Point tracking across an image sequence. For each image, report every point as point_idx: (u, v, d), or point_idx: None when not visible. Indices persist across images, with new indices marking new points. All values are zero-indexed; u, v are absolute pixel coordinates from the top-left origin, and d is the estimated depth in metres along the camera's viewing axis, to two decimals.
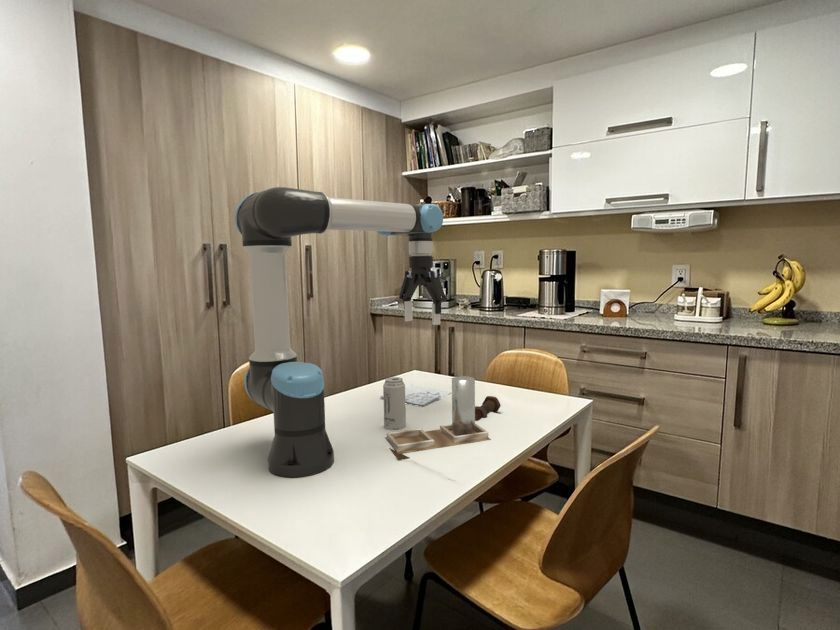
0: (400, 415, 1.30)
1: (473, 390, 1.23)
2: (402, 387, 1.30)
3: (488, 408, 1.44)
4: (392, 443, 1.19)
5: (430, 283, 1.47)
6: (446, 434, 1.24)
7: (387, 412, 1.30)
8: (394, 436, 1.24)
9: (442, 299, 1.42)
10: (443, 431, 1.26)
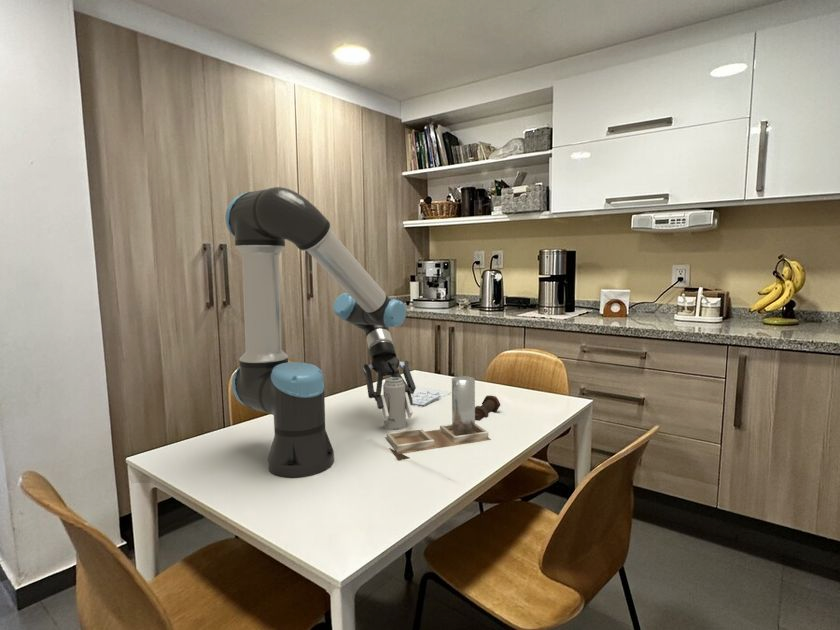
0: (400, 415, 1.30)
1: (473, 390, 1.23)
2: (402, 387, 1.30)
3: (489, 407, 1.44)
4: (392, 443, 1.19)
5: None
6: (446, 434, 1.24)
7: None
8: (394, 436, 1.24)
9: None
10: (443, 431, 1.26)
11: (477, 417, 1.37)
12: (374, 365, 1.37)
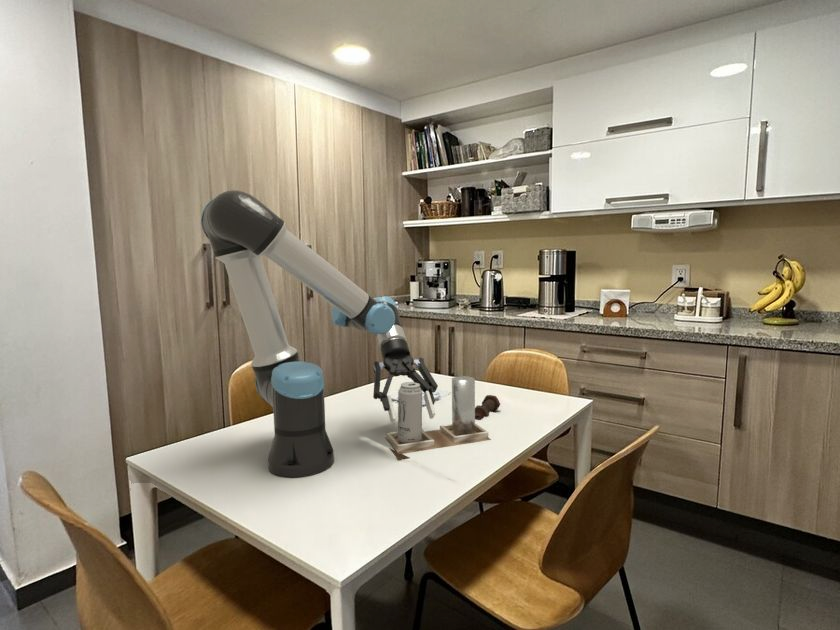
0: (416, 425, 1.18)
1: (473, 390, 1.23)
2: (419, 394, 1.18)
3: (489, 407, 1.45)
4: (392, 443, 1.19)
5: None
6: (446, 434, 1.24)
7: (402, 421, 1.18)
8: (394, 436, 1.24)
9: None
10: (443, 431, 1.26)
11: (478, 416, 1.38)
12: (386, 364, 1.25)
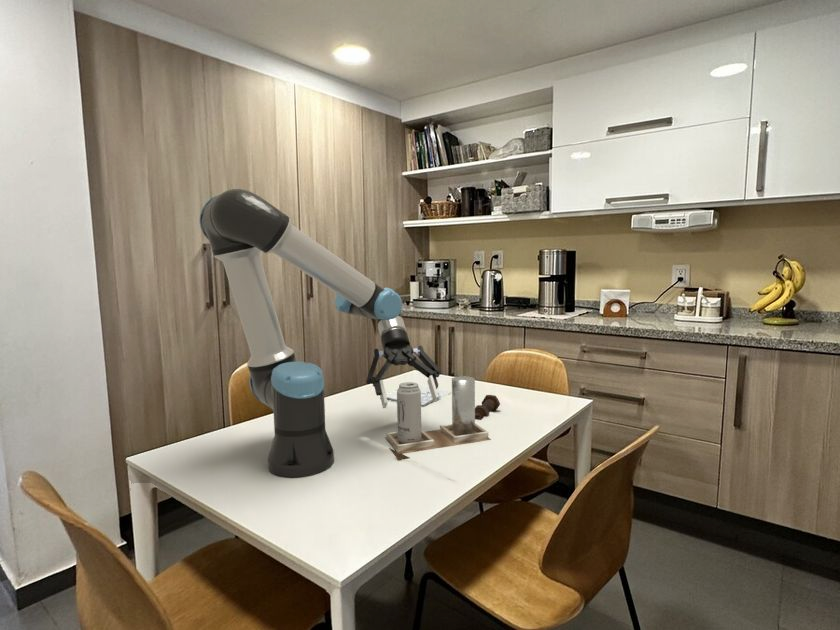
0: (416, 424, 1.18)
1: (473, 390, 1.23)
2: (418, 393, 1.18)
3: (489, 407, 1.45)
4: (392, 443, 1.19)
5: None
6: (446, 434, 1.24)
7: (401, 421, 1.18)
8: (394, 436, 1.24)
9: None
10: (443, 431, 1.26)
11: (478, 416, 1.38)
12: (385, 353, 1.28)
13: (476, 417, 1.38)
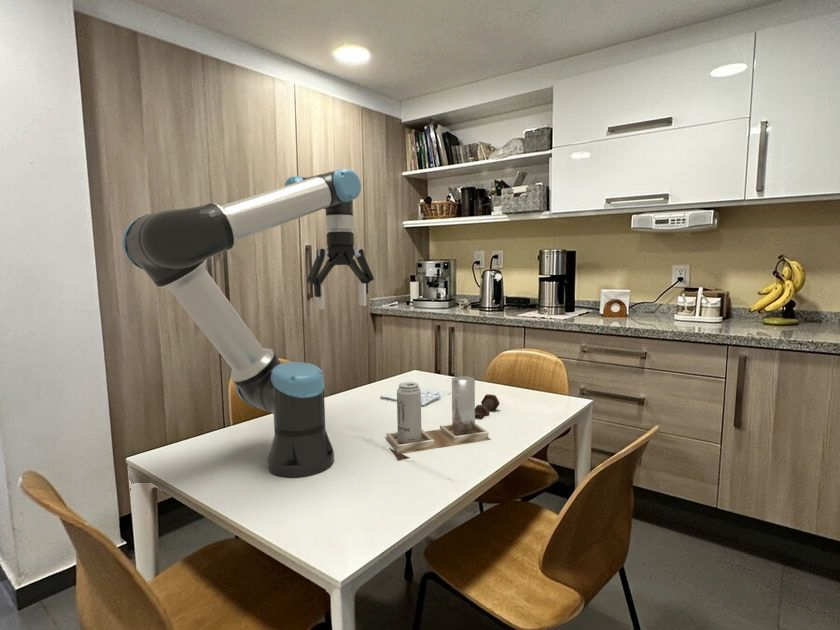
0: (416, 424, 1.18)
1: (473, 390, 1.23)
2: (418, 393, 1.18)
3: (489, 406, 1.45)
4: (392, 443, 1.19)
5: None
6: (446, 434, 1.24)
7: (401, 421, 1.18)
8: (394, 436, 1.24)
9: None
10: (443, 431, 1.26)
11: (479, 416, 1.38)
12: (330, 254, 1.31)
13: (477, 417, 1.38)
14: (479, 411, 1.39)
